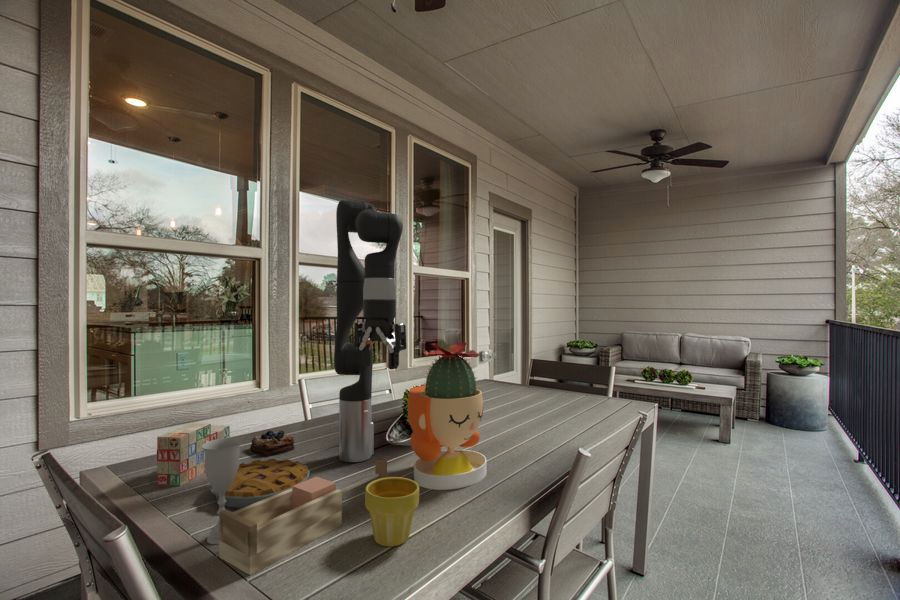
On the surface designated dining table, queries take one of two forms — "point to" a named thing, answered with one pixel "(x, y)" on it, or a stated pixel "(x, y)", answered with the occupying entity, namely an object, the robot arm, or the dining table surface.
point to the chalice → (221, 472)
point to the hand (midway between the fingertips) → (379, 367)
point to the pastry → (272, 443)
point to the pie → (263, 481)
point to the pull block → (329, 486)
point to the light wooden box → (275, 528)
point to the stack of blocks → (185, 452)
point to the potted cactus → (447, 422)
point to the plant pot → (391, 508)
